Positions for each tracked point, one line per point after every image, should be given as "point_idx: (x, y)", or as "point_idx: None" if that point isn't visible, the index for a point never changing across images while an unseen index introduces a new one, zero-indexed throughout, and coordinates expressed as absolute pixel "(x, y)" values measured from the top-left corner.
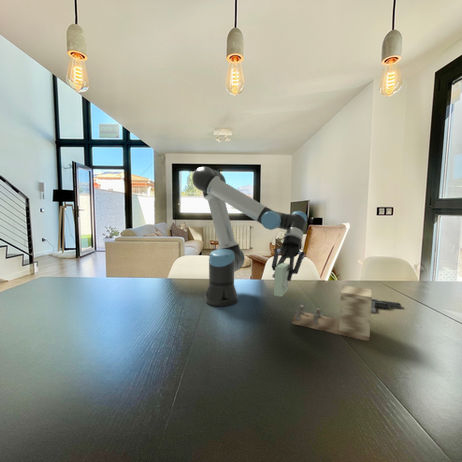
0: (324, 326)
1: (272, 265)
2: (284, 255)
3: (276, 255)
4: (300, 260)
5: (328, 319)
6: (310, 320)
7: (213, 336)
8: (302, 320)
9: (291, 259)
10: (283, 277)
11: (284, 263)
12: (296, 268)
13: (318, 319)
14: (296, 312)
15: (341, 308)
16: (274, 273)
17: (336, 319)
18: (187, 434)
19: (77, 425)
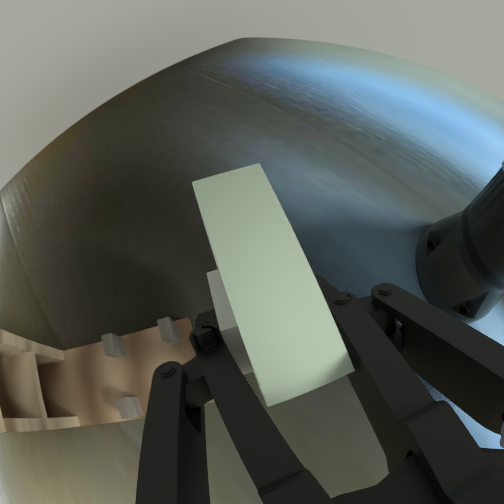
0: (94, 345)
1: (395, 290)
2: (406, 433)
3: (483, 362)
4: (144, 491)
5: (104, 405)
6: (139, 357)
7: (285, 139)
8: (159, 338)
9: (261, 451)
10: (212, 251)
11: (318, 372)
12: (158, 383)
13: (125, 383)
14: (167, 317)
15: (18, 337)
16: (328, 285)
17: (89, 421)
18: (166, 75)
19: (236, 48)
